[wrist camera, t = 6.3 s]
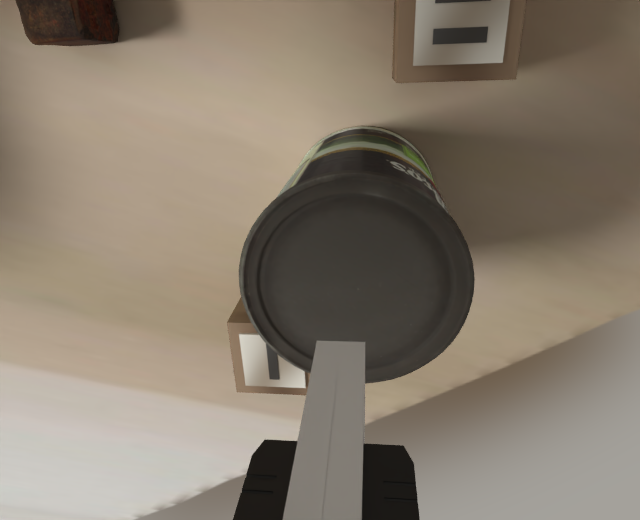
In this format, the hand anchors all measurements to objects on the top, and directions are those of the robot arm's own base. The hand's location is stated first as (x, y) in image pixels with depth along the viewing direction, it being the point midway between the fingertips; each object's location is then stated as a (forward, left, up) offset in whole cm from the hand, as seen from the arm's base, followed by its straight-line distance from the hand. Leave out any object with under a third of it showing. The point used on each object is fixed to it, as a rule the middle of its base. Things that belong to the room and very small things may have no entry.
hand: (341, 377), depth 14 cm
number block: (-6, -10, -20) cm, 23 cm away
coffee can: (0, 0, -20) cm, 20 cm away
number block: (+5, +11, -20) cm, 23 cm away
